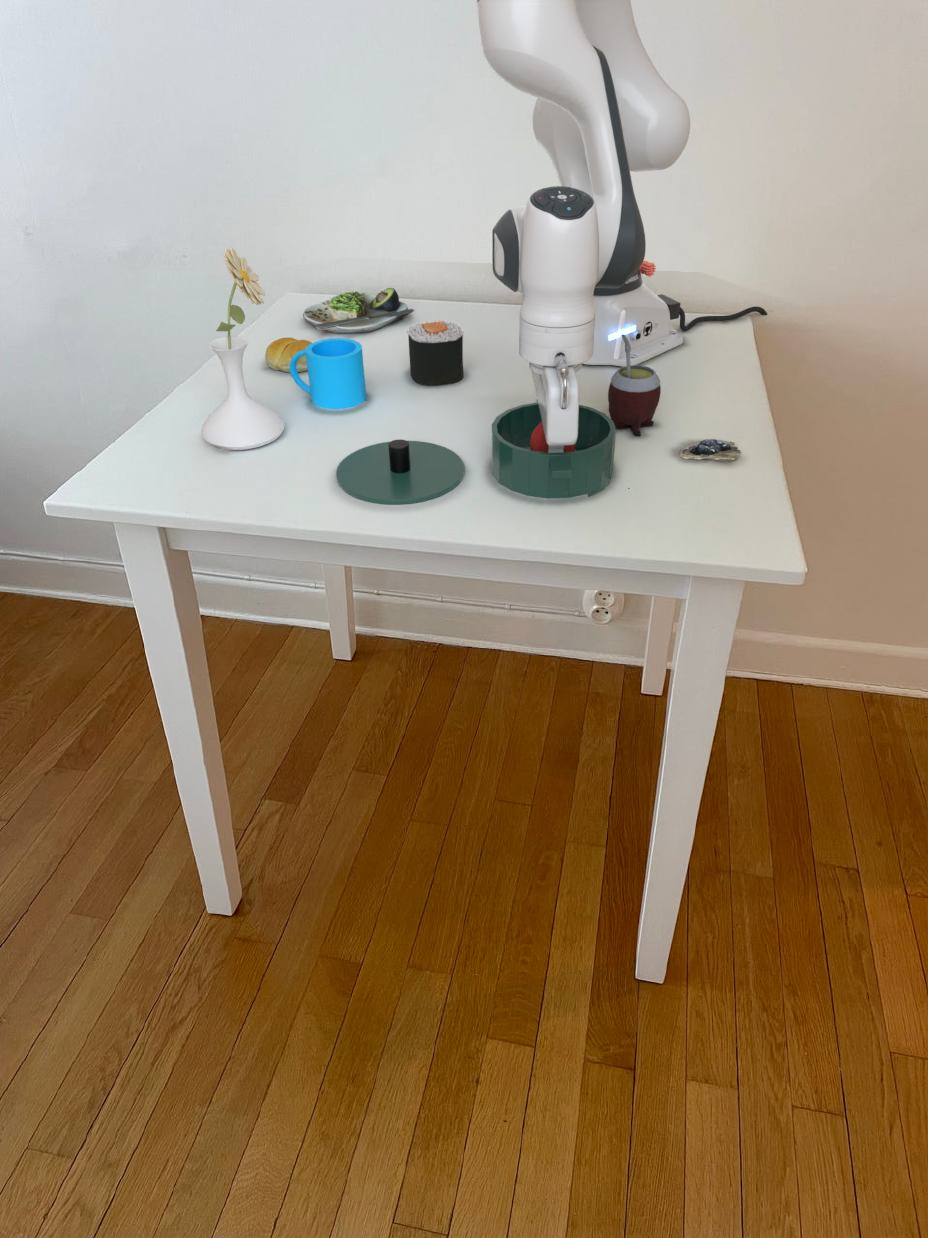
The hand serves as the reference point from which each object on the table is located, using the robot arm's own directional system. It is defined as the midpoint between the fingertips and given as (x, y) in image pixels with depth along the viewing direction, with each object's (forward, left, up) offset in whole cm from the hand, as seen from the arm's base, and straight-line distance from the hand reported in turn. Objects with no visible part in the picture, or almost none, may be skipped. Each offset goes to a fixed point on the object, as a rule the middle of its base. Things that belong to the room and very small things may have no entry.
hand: (552, 446), depth 121 cm
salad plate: (-8, -67, -4) cm, 68 cm away
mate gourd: (-17, -4, -4) cm, 18 cm away
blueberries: (-20, +8, -4) cm, 22 cm away
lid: (+16, -10, -3) cm, 20 cm away
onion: (0, 0, -4) cm, 4 cm away
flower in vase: (+28, -33, -4) cm, 43 cm away
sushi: (-5, -36, -4) cm, 36 cm away
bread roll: (+11, -54, -4) cm, 55 cm away
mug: (+13, -38, -4) cm, 40 cm away
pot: (0, 0, -4) cm, 4 cm away
